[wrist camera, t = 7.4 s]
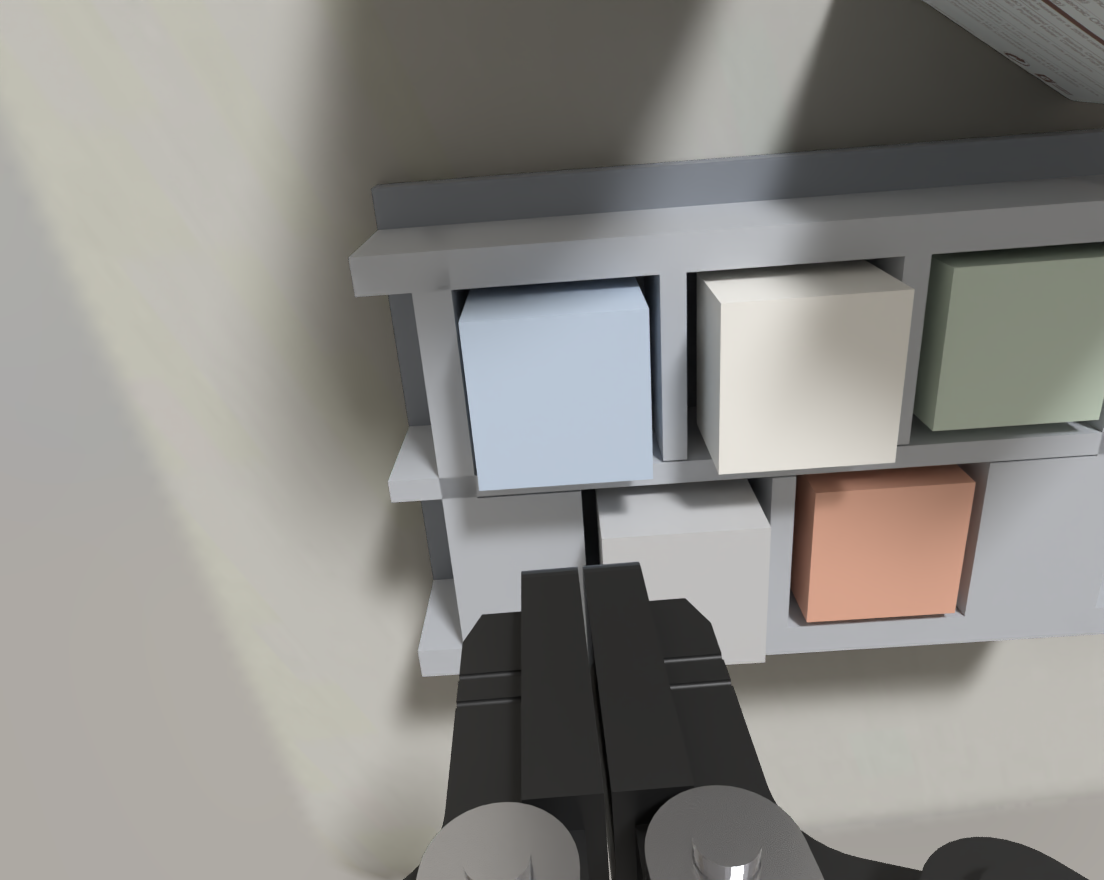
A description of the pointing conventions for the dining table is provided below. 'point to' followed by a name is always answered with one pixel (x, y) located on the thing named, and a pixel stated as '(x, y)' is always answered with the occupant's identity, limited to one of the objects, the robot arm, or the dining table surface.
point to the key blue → (558, 383)
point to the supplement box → (1041, 38)
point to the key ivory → (801, 365)
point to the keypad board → (671, 295)
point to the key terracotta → (880, 542)
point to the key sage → (1013, 338)
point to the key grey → (696, 553)
